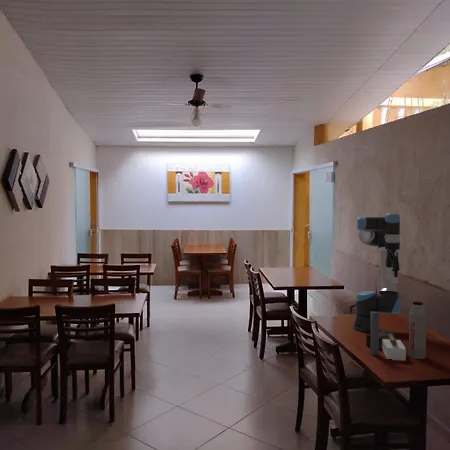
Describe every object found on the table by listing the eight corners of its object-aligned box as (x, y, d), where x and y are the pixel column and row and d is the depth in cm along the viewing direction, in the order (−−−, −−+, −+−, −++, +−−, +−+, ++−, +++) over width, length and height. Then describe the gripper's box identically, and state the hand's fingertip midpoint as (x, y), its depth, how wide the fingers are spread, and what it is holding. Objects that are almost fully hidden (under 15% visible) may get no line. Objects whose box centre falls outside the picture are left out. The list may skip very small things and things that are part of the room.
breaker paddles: (389, 340, 238) (387, 334, 238) (393, 338, 237) (391, 333, 237) (392, 345, 228) (390, 340, 228) (397, 344, 228) (395, 338, 228)
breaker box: (382, 350, 241) (382, 339, 241) (400, 351, 239) (400, 339, 239) (386, 359, 226) (386, 347, 226) (405, 360, 225) (405, 348, 224)
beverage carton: (395, 342, 256) (395, 330, 256) (378, 349, 243) (378, 337, 243) (382, 339, 262) (382, 327, 261) (365, 346, 249) (365, 334, 248)
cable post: (370, 352, 237) (370, 311, 236) (377, 353, 236) (378, 311, 235) (370, 355, 233) (371, 313, 232) (379, 355, 232) (379, 313, 231)
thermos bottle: (413, 359, 226) (414, 304, 225) (406, 354, 234) (406, 300, 233) (428, 358, 227) (429, 303, 226) (420, 353, 235) (421, 300, 234)
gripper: (380, 240, 257) (380, 277, 258) (390, 244, 232) (390, 284, 233) (393, 240, 256) (393, 277, 257) (405, 244, 231) (405, 285, 232)
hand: (392, 281), depth 245 cm, fingers open, 13 cm apart
